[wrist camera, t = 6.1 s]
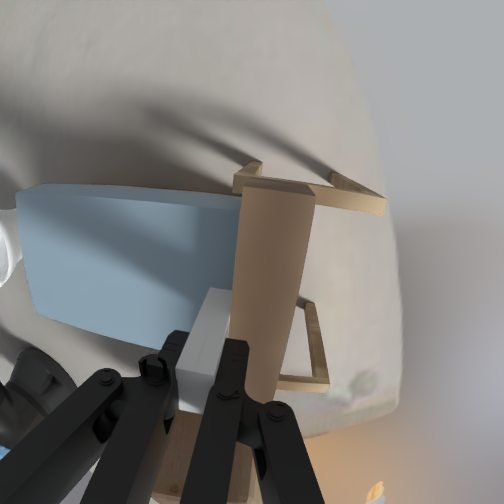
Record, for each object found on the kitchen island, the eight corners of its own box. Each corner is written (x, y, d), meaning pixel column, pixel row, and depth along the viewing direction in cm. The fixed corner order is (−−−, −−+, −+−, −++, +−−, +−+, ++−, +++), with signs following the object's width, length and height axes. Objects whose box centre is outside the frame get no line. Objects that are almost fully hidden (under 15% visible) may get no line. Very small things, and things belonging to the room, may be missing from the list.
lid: (58, 293, 24) (35, 312, 20) (45, 183, 20) (14, 192, 16) (232, 330, 24) (225, 362, 20) (246, 197, 20) (239, 211, 16)
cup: (27, 256, 33) (-18, 285, 23) (14, 193, 29) (-37, 213, 20) (67, 256, 32) (17, 291, 22) (54, 184, 28) (-5, 204, 19)
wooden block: (187, 355, 36) (137, 490, 17) (263, 351, 34) (250, 505, 16) (207, 403, 39) (177, 520, 20) (273, 401, 38) (267, 528, 19)
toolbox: (98, 276, 32) (39, 331, 21) (92, 153, 27) (12, 168, 16) (312, 310, 32) (326, 392, 20) (341, 174, 26) (387, 198, 15)
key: (228, 383, 20) (221, 419, 17) (250, 176, 15) (243, 186, 12) (267, 389, 20) (265, 425, 17) (307, 184, 15) (316, 196, 11)
